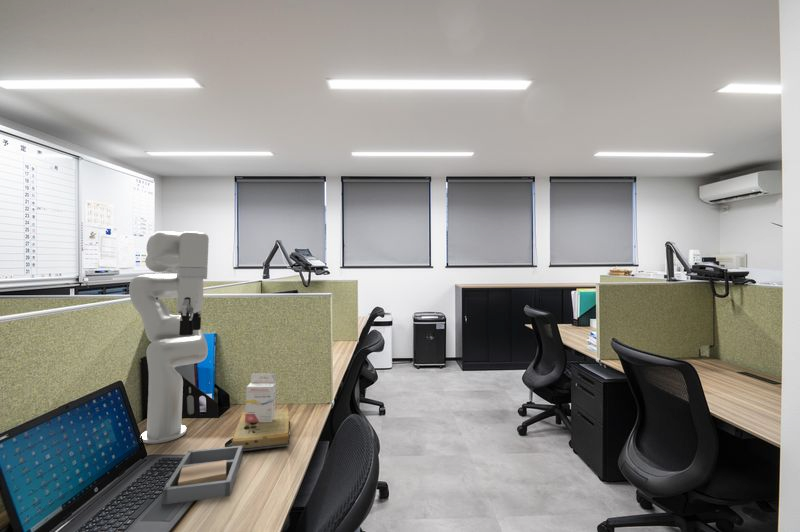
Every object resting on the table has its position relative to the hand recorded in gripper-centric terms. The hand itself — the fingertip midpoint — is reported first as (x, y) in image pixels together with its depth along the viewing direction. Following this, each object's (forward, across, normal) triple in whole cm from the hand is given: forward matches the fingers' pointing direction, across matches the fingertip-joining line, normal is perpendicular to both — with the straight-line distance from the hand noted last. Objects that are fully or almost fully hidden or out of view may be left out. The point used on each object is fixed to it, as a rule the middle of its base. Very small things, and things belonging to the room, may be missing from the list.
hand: (190, 332), depth 105 cm
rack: (+36, +15, +8) cm, 40 cm away
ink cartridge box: (+31, -8, +20) cm, 37 cm away
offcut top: (+33, +19, +8) cm, 39 cm away
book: (+37, -8, +21) cm, 43 cm away
